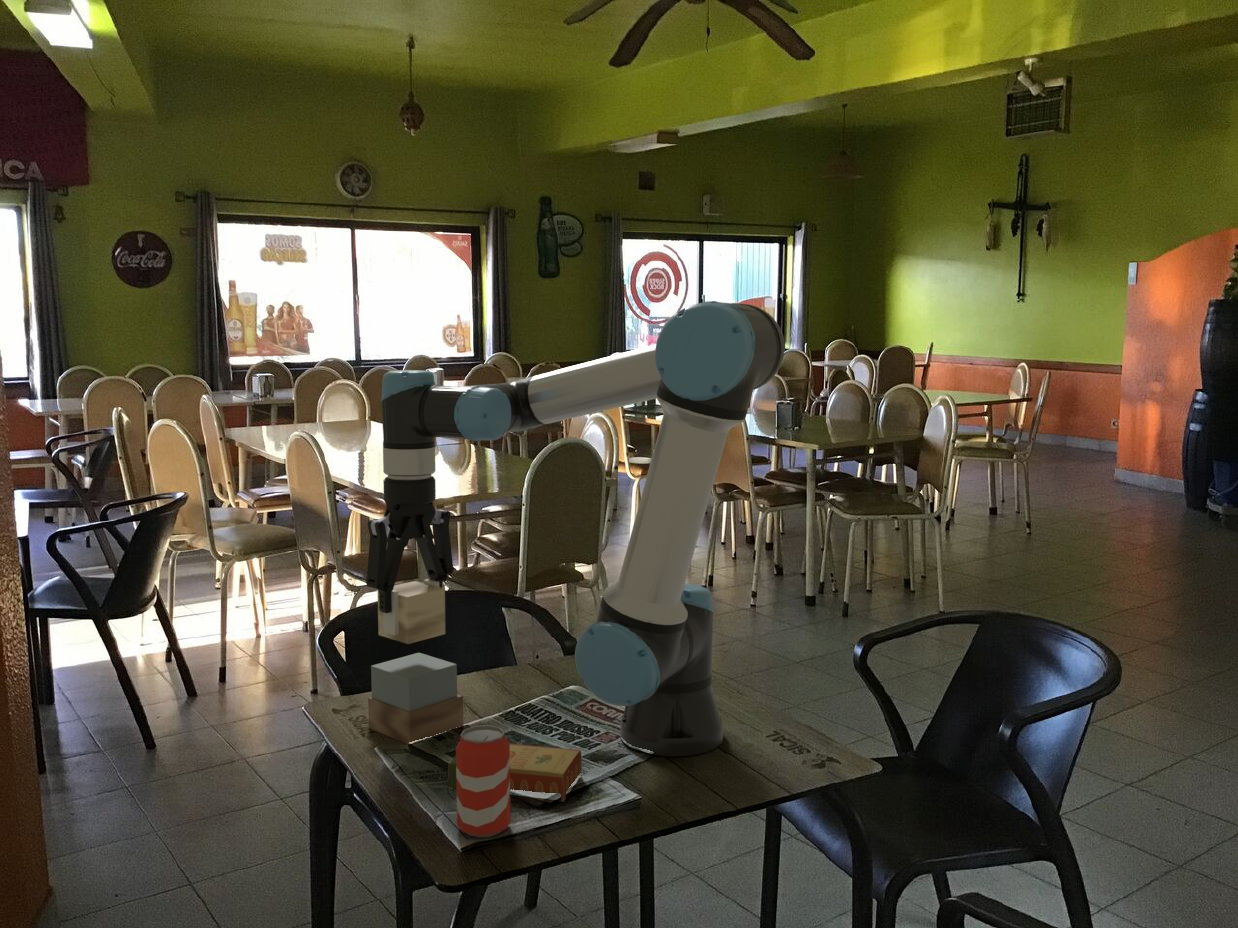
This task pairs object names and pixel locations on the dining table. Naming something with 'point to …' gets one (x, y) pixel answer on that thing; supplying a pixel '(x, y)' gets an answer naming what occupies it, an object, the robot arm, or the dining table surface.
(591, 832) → the dining table surface
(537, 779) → the carton
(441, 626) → the maple cube
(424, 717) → the tower base
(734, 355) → the robot arm
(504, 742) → the beverage can
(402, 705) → the tower top
